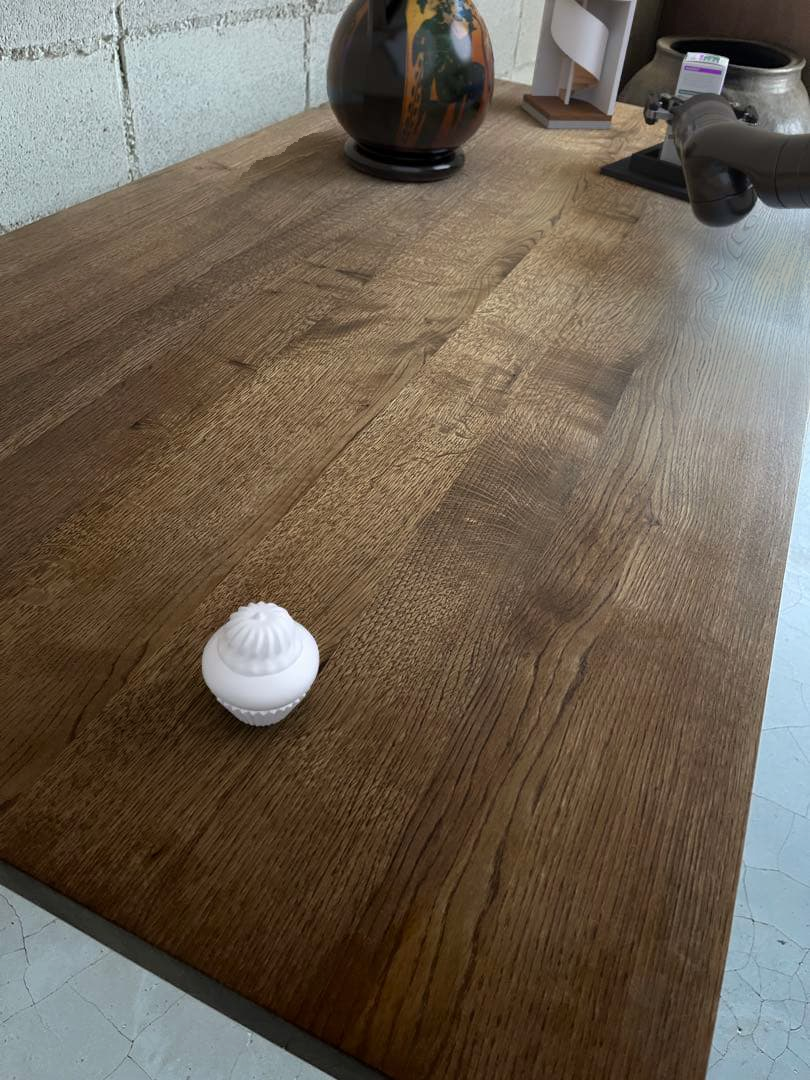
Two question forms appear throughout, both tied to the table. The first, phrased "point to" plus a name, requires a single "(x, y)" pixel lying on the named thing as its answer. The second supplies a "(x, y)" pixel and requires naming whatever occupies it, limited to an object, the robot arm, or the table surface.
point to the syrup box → (695, 89)
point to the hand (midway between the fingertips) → (695, 100)
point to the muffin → (260, 663)
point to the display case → (579, 62)
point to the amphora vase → (410, 85)
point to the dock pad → (650, 172)
